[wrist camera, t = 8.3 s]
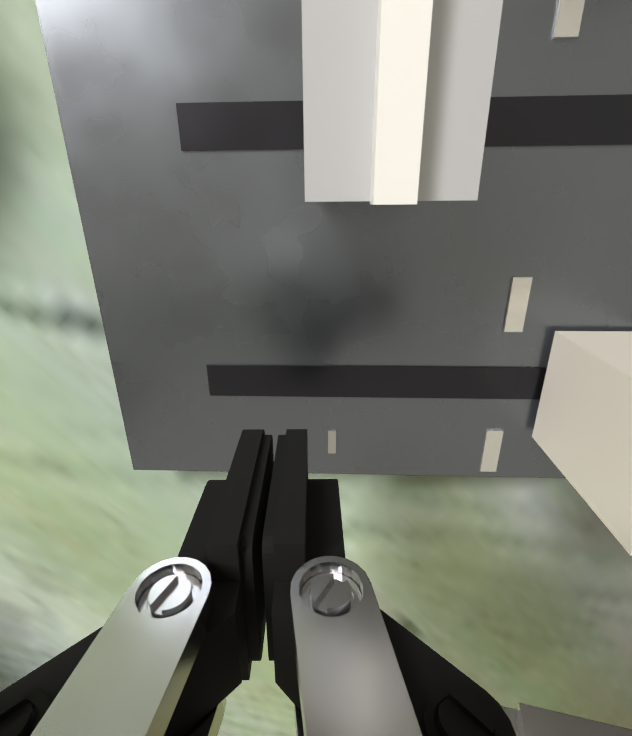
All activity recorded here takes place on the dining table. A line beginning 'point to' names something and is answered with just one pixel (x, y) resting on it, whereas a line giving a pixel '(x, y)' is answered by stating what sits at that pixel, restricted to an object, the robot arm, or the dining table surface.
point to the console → (338, 240)
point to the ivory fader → (591, 421)
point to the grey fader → (396, 98)
